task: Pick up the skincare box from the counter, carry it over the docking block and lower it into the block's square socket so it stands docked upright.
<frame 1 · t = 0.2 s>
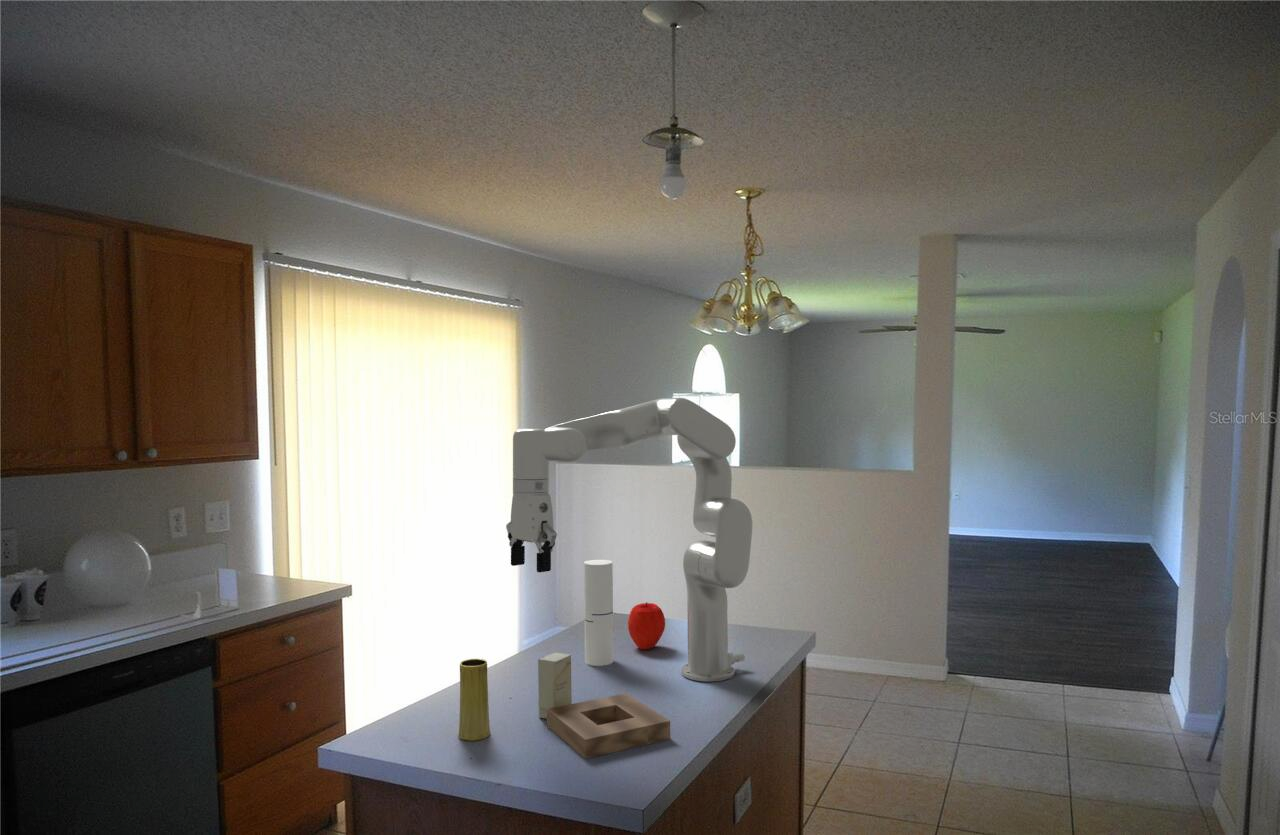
hand: (530, 568, 178), 30 cm above the counter, tool pointing down, fingers open, 9 cm apart
docking block: (607, 732, 165), on the counter
cylindrical container: (599, 662, 211), on the counter
skincare box: (555, 715, 175), on the counter
apple: (646, 649, 222), on the counter
vase: (474, 736, 164), on the counter
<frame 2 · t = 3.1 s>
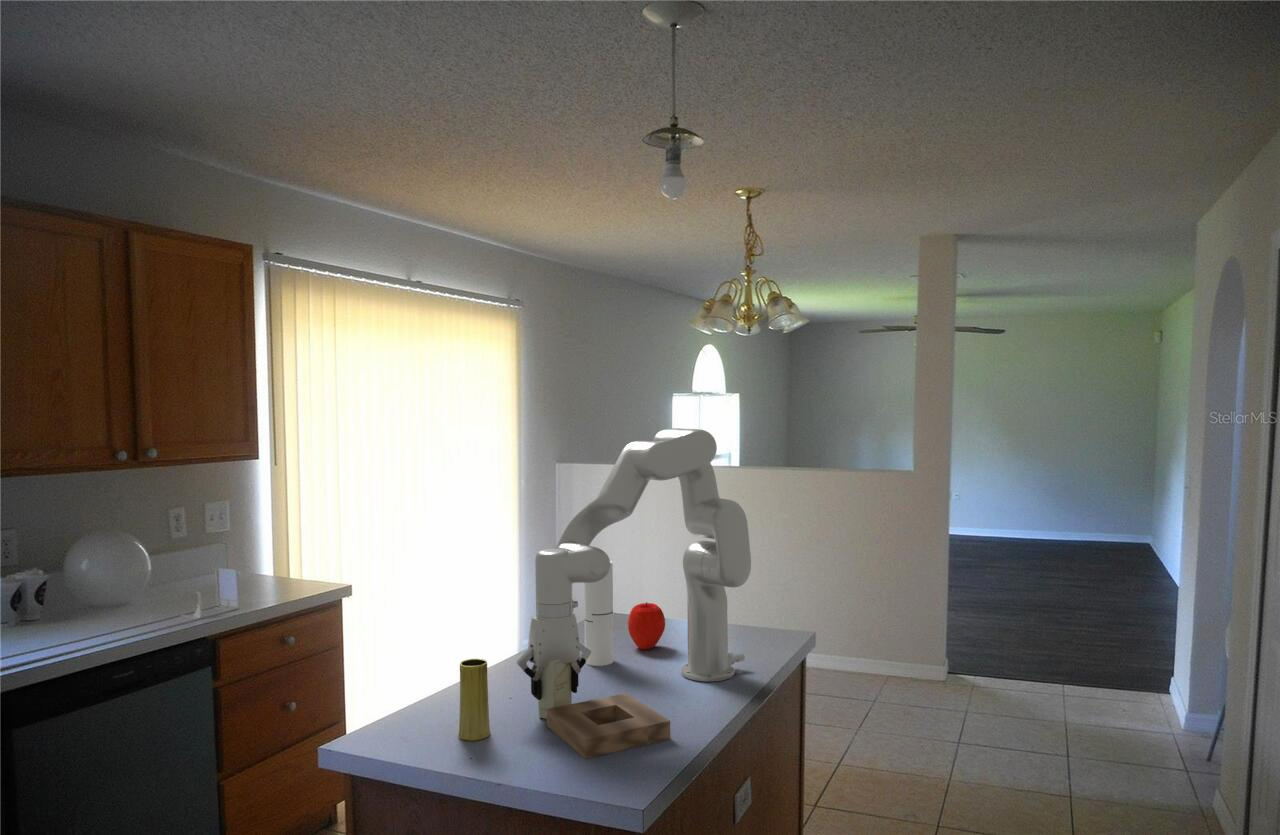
hand: (555, 693, 175), 4 cm above the counter, tool pointing down, fingers closed on skincare box, 7 cm apart
skincare box: (555, 715, 175), on the counter, touching gripper
everything else where it was.
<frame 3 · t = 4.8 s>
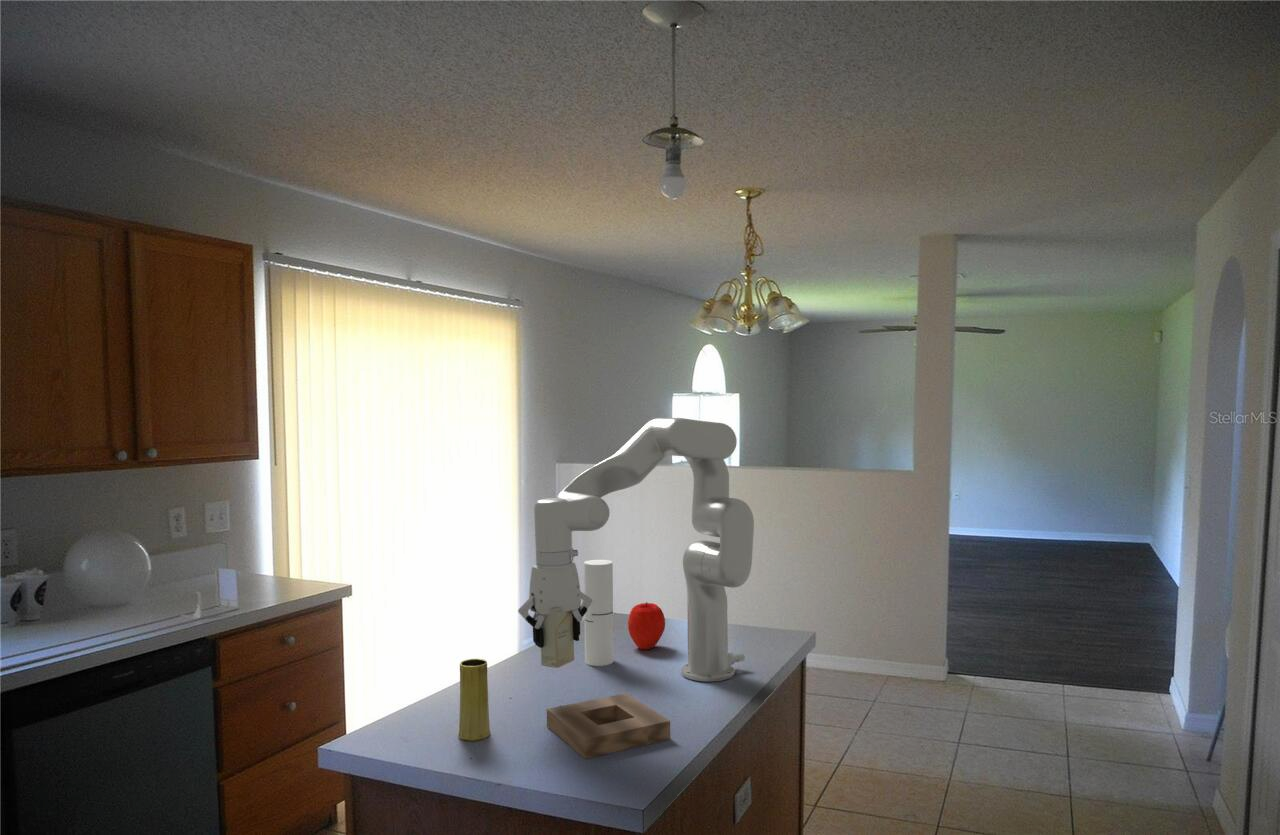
hand: (557, 642, 175), 15 cm above the counter, tool pointing down, fingers closed on skincare box, 7 cm apart
skincare box: (557, 664, 175), point 10 cm above the counter, touching gripper
everything else where it was.
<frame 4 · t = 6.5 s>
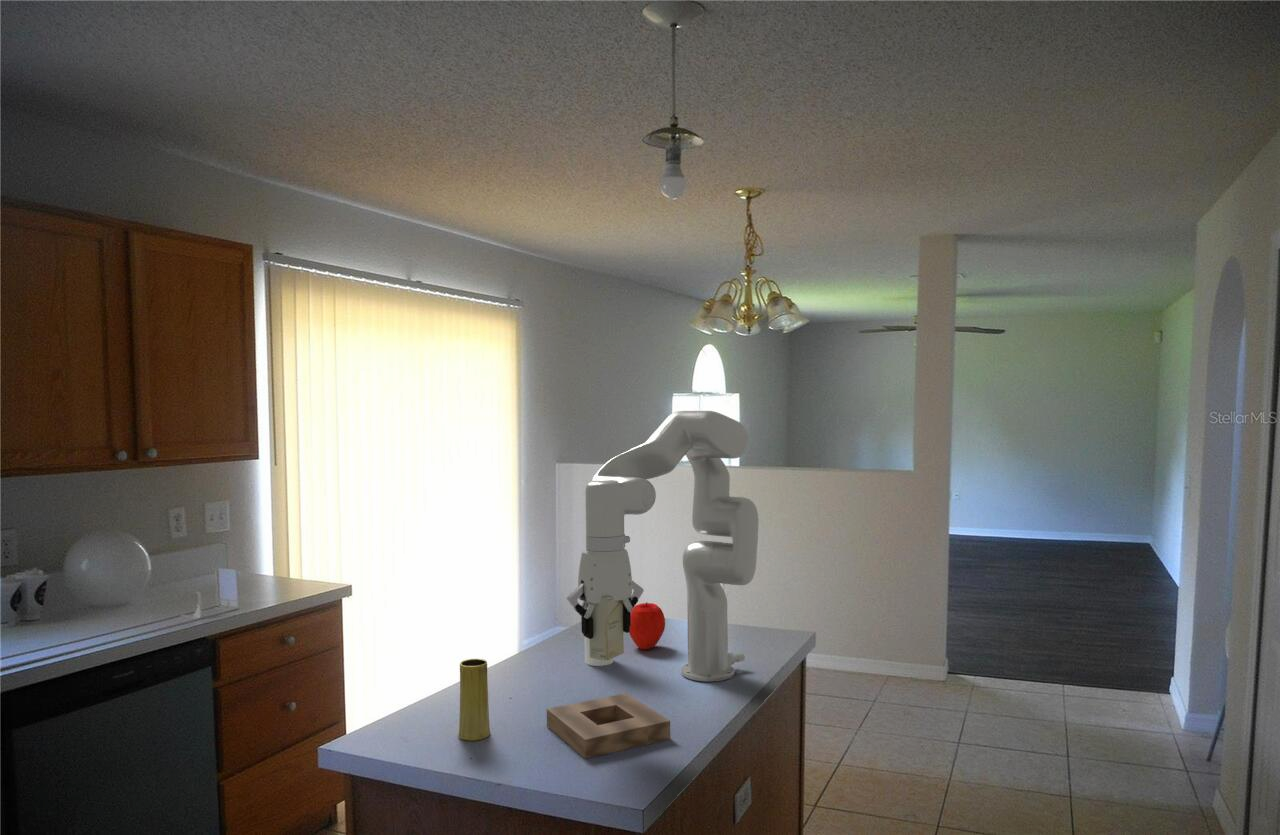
hand: (606, 633, 165), 19 cm above the counter, tool pointing down, fingers closed on skincare box, 7 cm apart
skincare box: (606, 656, 165), point 15 cm above the counter, touching gripper
everything else where it was.
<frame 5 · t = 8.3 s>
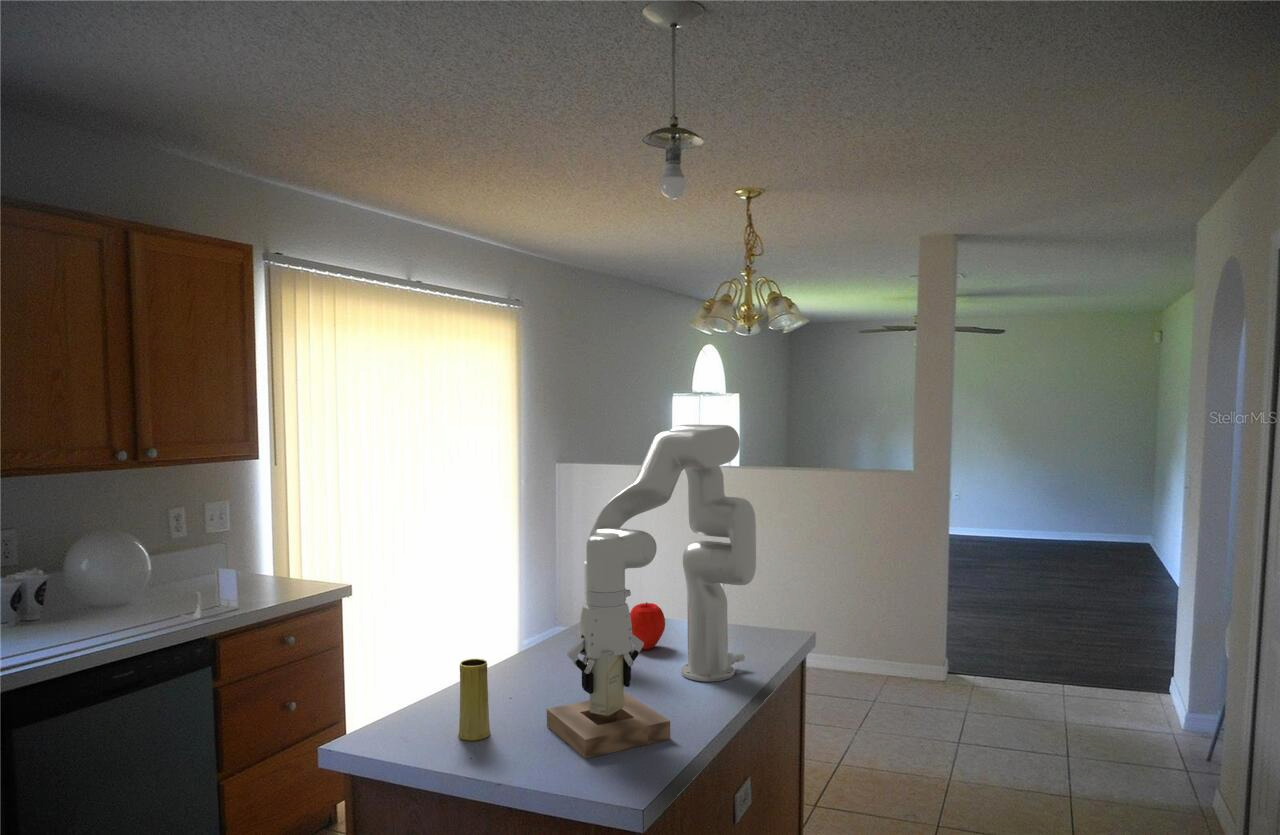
hand: (606, 687, 165), 9 cm above the counter, tool pointing down, fingers closed on skincare box, 7 cm apart
skincare box: (606, 711, 165), point 4 cm above the counter, touching gripper
everything else where it was.
when the fingers open (6 cm above the counter, at t = 10.0 s): skincare box drops 1 cm, resting in docking block.
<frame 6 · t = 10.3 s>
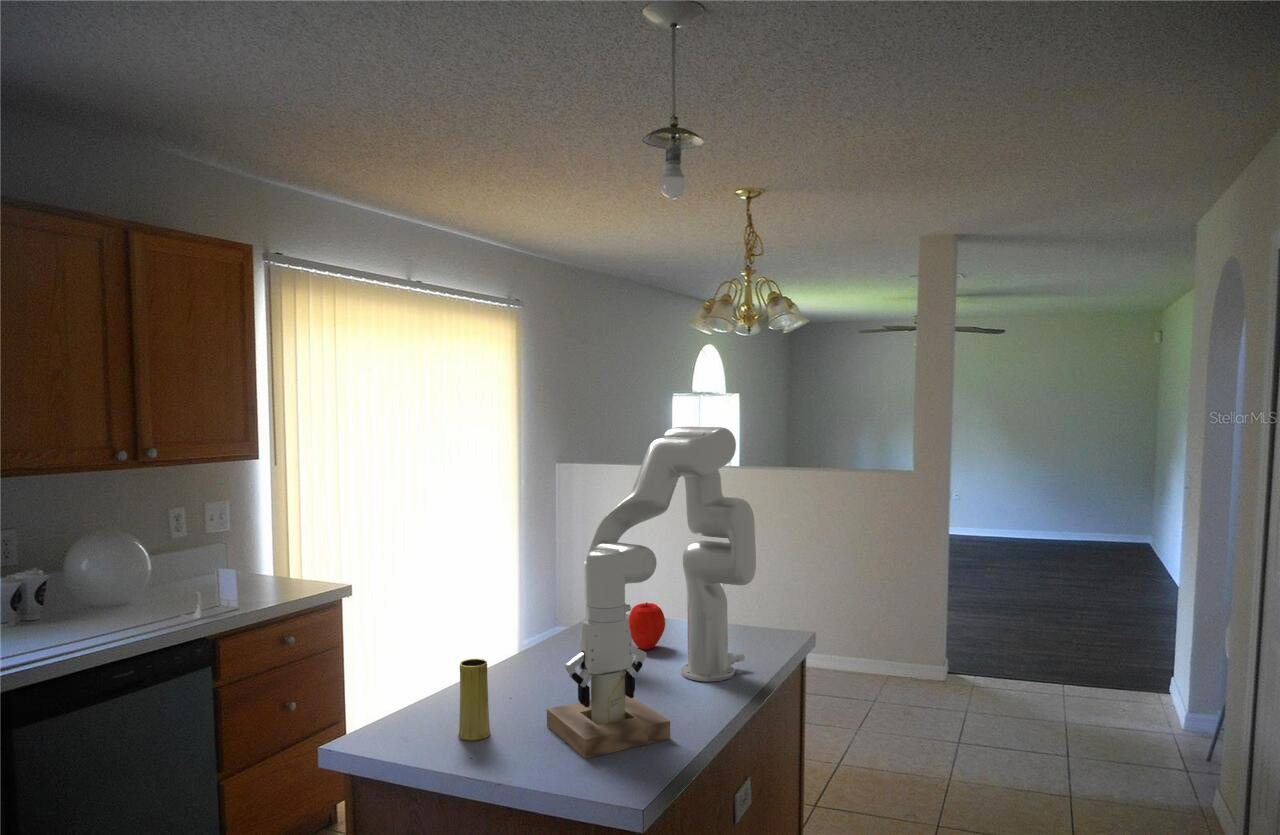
hand: (606, 700, 165), 6 cm above the counter, tool pointing down, fingers open, 9 cm apart
skincare box: (608, 733, 165), resting in docking block
everything else where it was.
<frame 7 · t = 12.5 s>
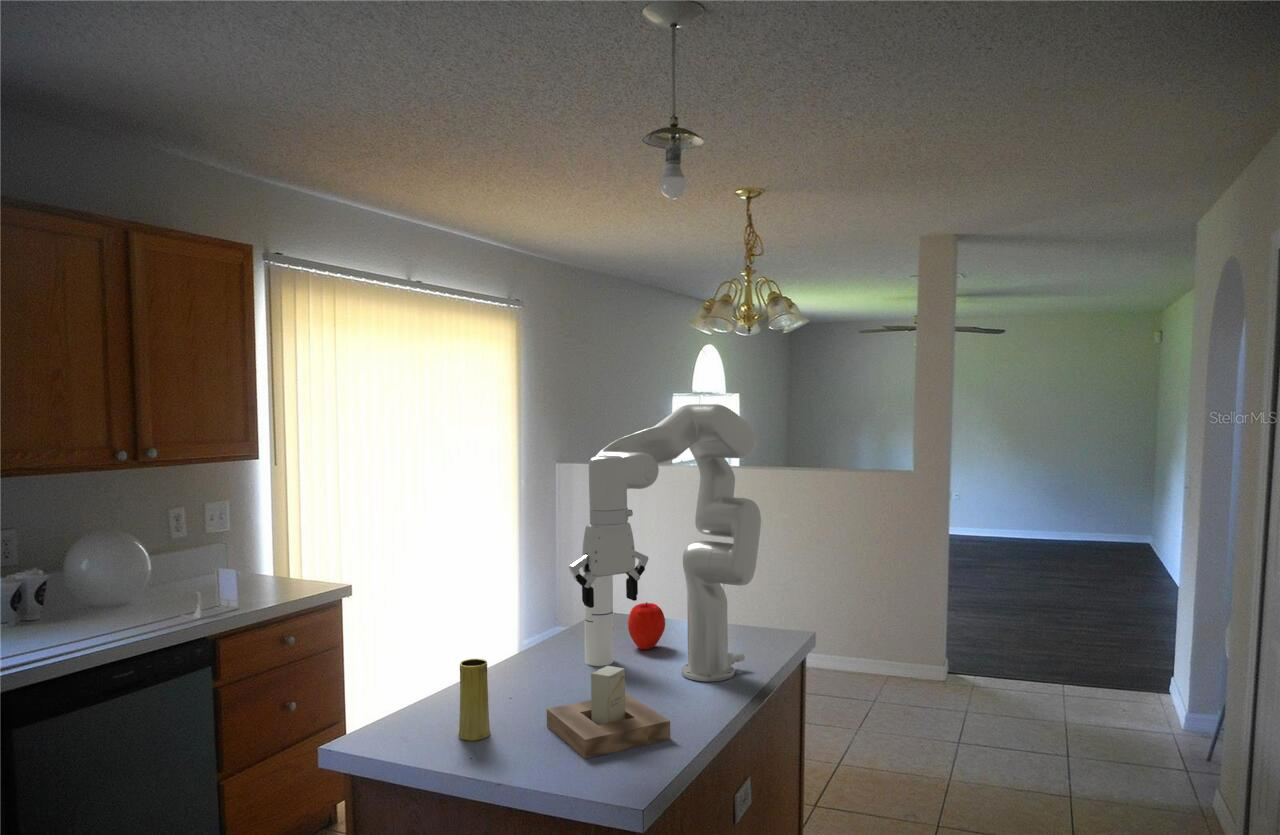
hand: (610, 602, 168), 25 cm above the counter, tool pointing down, fingers open, 9 cm apart
nothing on the counter moved.
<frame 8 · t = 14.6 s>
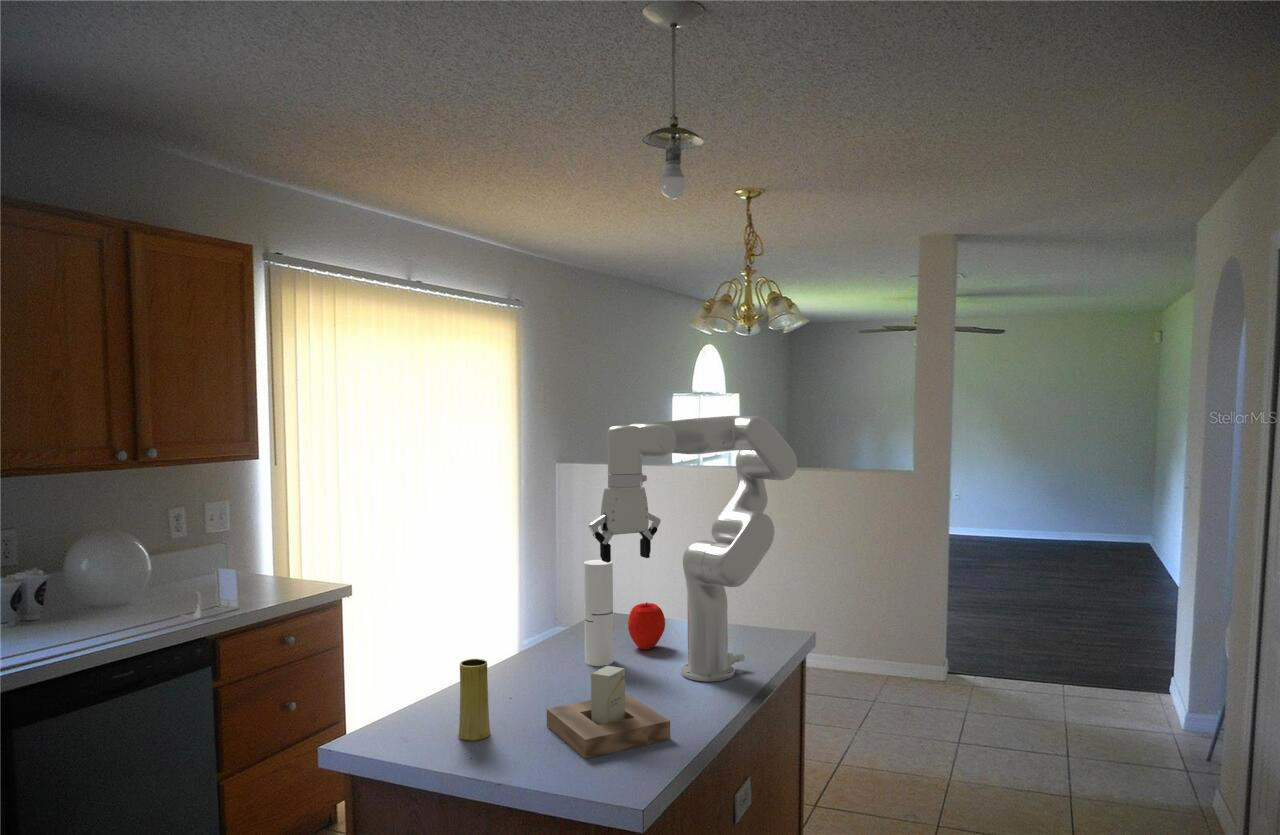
hand: (625, 559, 185), 30 cm above the counter, tool pointing down, fingers open, 9 cm apart
nothing on the counter moved.
at the end: skincare box 0.4 cm off-centre on the docking block, point 0.0 cm above the docking block's base; skincare box tilted 0°; the gripper is holding nothing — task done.
